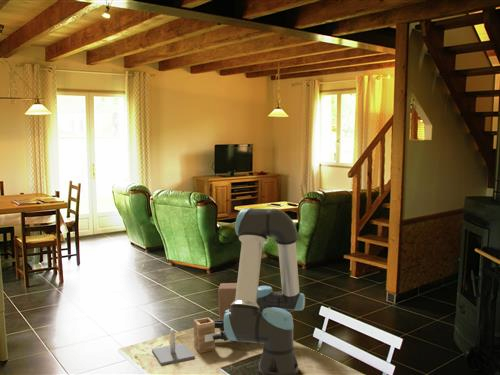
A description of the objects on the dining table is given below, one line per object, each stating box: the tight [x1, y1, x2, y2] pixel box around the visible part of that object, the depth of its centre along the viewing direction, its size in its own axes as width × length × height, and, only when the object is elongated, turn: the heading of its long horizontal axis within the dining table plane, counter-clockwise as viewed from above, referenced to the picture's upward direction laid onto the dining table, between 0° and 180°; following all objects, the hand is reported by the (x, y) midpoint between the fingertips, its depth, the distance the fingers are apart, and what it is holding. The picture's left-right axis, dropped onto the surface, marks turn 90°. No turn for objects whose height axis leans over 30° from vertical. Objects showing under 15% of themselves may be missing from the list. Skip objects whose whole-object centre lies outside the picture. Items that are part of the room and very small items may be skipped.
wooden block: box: [217, 282, 237, 320], centre depth 232 cm, size 10×10×20 cm
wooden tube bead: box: [193, 317, 216, 354], centre depth 207 cm, size 7×7×12 cm
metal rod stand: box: [151, 328, 196, 366], centre depth 201 cm, size 15×14×11 cm
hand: (199, 333), depth 206 cm, fingers open, 13 cm apart
